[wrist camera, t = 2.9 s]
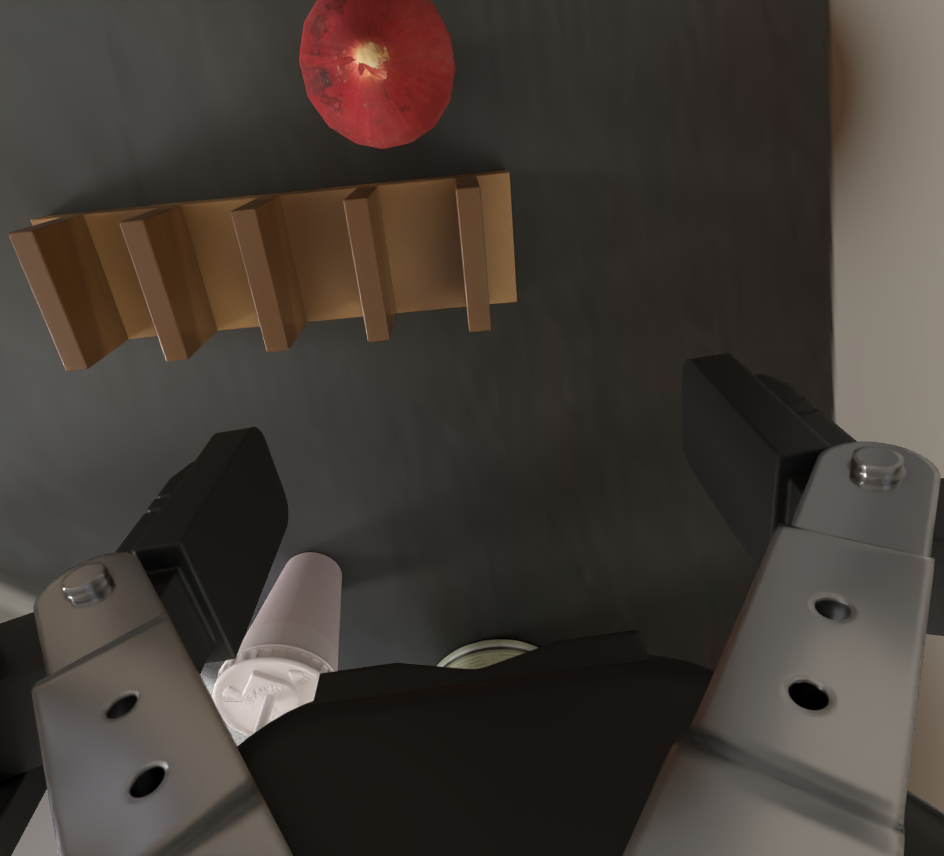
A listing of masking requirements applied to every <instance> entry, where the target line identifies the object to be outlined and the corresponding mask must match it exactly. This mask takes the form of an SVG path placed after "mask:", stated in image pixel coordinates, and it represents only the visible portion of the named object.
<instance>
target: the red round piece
mask: <svg viewBox="0 0 944 856" xmlns="http://www.w3.org/2000/svg"><path fill="white" fill-rule="evenodd" d="M299 62H300V66H301V70H302V75H303V79H304V83H305V87H306V91H307V95H308V98H309V100H310V101H311V102H312V104H313V105H314V106H315V108H316V109H317V111H318V112H319V113H320V115H321V116H322V118H323V119H324V120H325V122H326V123H327V124H328V126H329V127H330V128H332V129H333V130H335V131H337V132H338V133H340V134H341V135H343V136H344V137H346V138H348V139H349V140H351V141H352V142H354V143H356V144H360V145H365V146H370V147H376V148H381V149H386V148H390V147H395V146H399V145H404V144H409V143H412V142H414V141H415V140H416V139H418V138H419V137H421V136H422V135H424V134H425V133H427V132H428V131H430V130H431V129H432V128H434V127H435V126H436V124H437V122H438V121H439V119H440V117H441V116H442V114H443V112H444V111H445V109H446V107H447V106H448V104H449V102H450V100H451V94H452V87H453V81H454V75H455V69H456V68H455V62H454V56H453V49H452V43H451V36H450V34H449V32H448V30H447V28H446V26H445V24H444V22H443V20H442V18H441V16H440V15H439V13H438V11H437V9H436V7H435V5H434V4H433V3H432V2H431V1H430V0H317V1H316V2H315V4H314V6H313V7H312V9H311V11H310V13H309V14H308V16H307V18H306V19H305V21H304V24H303V32H302V39H301V47H300V55H299Z"/></svg>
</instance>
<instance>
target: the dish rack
mask: <svg viewBox="0 0 944 856" xmlns="http://www.w3.org/2000/svg"><path fill="white" fill-rule="evenodd" d="M31 222H32V225H33V226H30V227H27V228H23V229H20V230H17V231H13V232H10V233H8V235H9V237H10V239H11V242H12V244H13V247H14V249H15V251H16V254H17V256H18V258H19V261H20V263H21V265H22V268H23V270H24V272H25V275H26V277H27V280H28V282H29V284H30V287H31V289H32V291H33V294H34V296H35V298H36V301H37V303H38V305H39V308H40V310H41V312H42V315H43V317H44V320H45V322H46V324H47V327H48V329H49V331H50V334H51V336H52V338H53V341H54V343H55V345H56V348H57V350H58V353H59V355H60V357H61V360H62V362H63V364H64V367H65V369H66V371H73V370H84V369H88V368H90V367H91V366H93V365H94V364H95V363H97V362H98V361H99V360H101V359H102V358H103V357H105V356H106V355H108V354H109V353H110V352H112V351H113V350H114V349H116V348H117V347H118V346H120V345H121V344H123V343H124V342H125V341H127V340H128V339H133V338H144V337H154V336H158V338H159V341H160V344H161V347H162V350H163V353H164V356H165V359H166V361H177V360H187V359H189V358H190V357H191V356H192V355H193V354H194V353H195V352H196V351H197V350H198V349H199V348H200V347H201V346H202V345H203V344H204V343H205V342H206V341H207V340H208V339H209V338H210V337H211V336H212V335H213V334H214V333H215V332H216V331H217V330H227V329H237V328H247V327H258V326H260V328H261V331H262V335H263V339H264V343H265V347H266V351H267V352H272V351H283V350H289V348H290V347H291V345H292V344H293V342H294V341H295V339H296V338H297V336H298V335H299V333H300V332H301V330H302V329H303V327H304V326H305V324H306V323H307V322H310V321H320V320H331V319H341V318H351V317H362V316H363V318H364V324H365V329H366V335H367V340H368V342H374V341H385V340H390V336H391V332H392V328H393V324H394V320H395V316H396V313H403V312H414V311H424V310H434V309H445V308H455V307H467V317H468V327H469V332H479V331H489V330H491V317H490V304H497V303H507V302H516V301H517V294H516V276H515V259H514V241H513V224H512V206H511V189H510V173H509V172H508V171H507V170H502V171H492V172H482V173H472V174H462V175H452V176H442V177H431V178H421V179H411V180H401V181H391V182H381V183H371V184H361V185H351V186H341V187H331V188H321V189H311V190H301V191H291V192H280V193H270V194H260V195H250V196H240V197H230V198H220V199H210V200H200V201H190V202H180V203H170V204H160V205H150V206H139V207H129V208H119V209H109V210H99V211H89V212H79V213H69V214H59V215H49V216H43V217H40V218H36V219H32V220H31Z"/></svg>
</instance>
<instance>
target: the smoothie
mask: <svg viewBox="0 0 944 856" xmlns="http://www.w3.org/2000/svg"><path fill="white" fill-rule="evenodd" d="M341 587H342V572H341V569H340V567H339V566H338V564H337V563H336V562H335V561H334V560H333V559H331V558H330V557H328V556H326V555H323V554H320V553H315V552H306V553H301V554H298V555H296V556H294V557H292V558H291V559H290V560H289V561H288V562H287V564H286V565H285V567H284V569H283V571H282V572H281V574H280V576H279V578H278V580H277V581H276V583H275V585H274V587H273V588H272V590H271V592H270V594H269V595H268V597H267V599H266V601H265V602H264V604H263V606H262V608H261V609H260V611H259V613H258V615H257V616H256V618H255V620H254V622H253V624H252V625H251V627H250V629H249V631H248V632H247V634H246V636H245V638H244V639H243V641H242V644H241V646H240V649H239V651H238V654H237V656H236V659H231V660H226V661H225V662H224V664H223V665H222V667H221V668H220V670H219V673H218V677H217V680H216V683H215V685H214V688H213V701H214V703H215V704H216V706H217V708H218V710H219V712H220V714H221V716H222V718H223V720H224V721H225V722H226V723H227V724H228V725H230V726H231V727H232V728H234V729H235V730H237V731H239V732H241V733H242V734H244V735H247V736H249V737H250V736H251V735H252V734H254V733H255V732H256V731H258V730H259V729H261V728H262V727H264V726H265V725H266V724H268V723H269V722H271V721H273V720H275V719H276V718H278V717H280V716H281V715H283V714H285V713H287V712H289V711H291V710H293V709H295V708H297V707H299V706H301V705H304V704H306V703H309V702H311V701H314V697H315V692H316V688H317V684H318V679H319V675H320V673H327V672H334V671H337V670H338V647H339V627H340V607H341Z"/></svg>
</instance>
